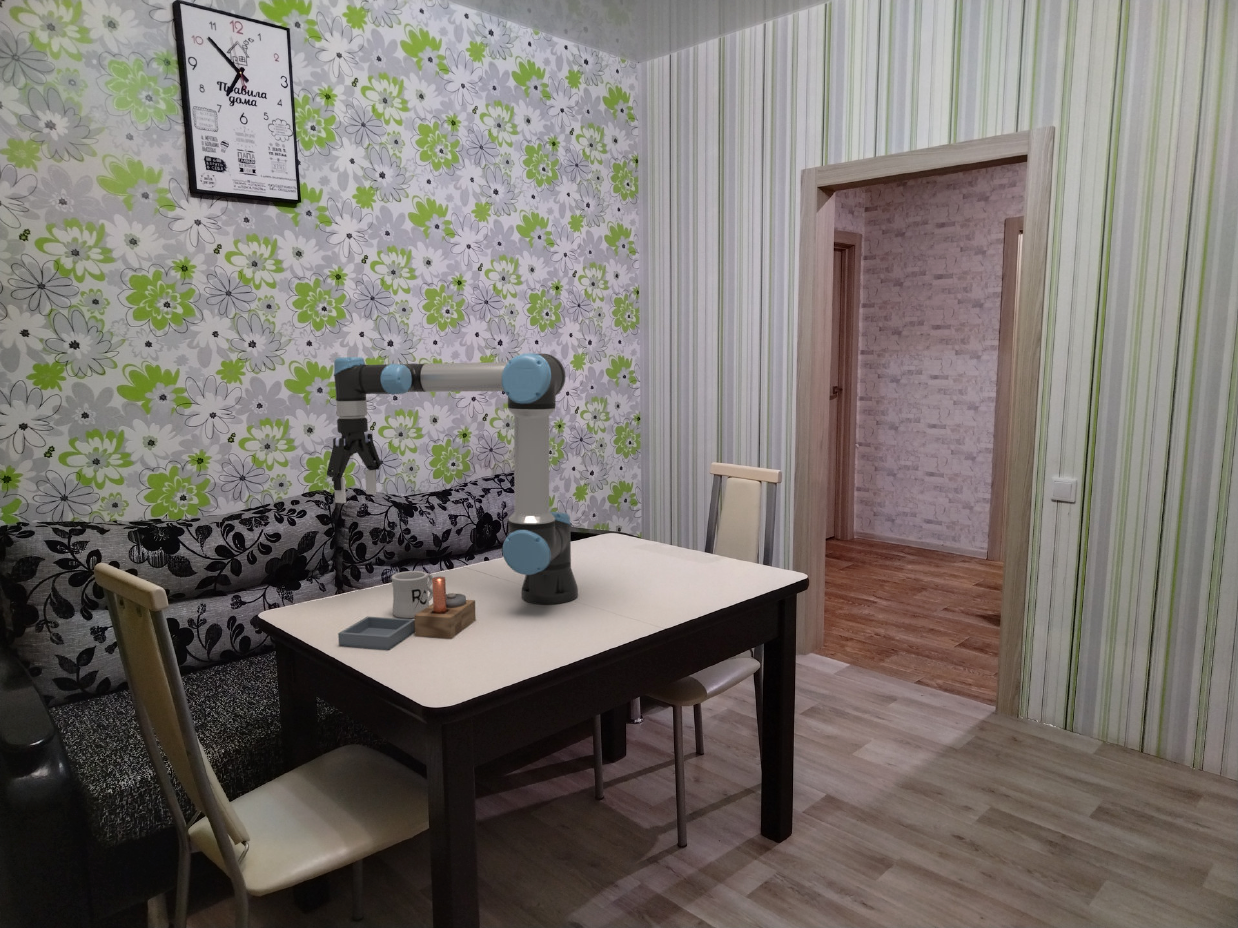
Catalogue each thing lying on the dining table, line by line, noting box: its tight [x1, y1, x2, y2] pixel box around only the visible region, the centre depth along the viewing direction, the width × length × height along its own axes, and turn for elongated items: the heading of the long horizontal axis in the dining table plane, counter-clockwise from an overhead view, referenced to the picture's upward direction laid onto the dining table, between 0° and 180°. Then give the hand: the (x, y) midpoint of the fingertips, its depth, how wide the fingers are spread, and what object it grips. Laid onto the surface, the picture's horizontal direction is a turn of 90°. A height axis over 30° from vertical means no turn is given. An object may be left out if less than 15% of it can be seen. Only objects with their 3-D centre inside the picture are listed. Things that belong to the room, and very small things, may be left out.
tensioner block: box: [414, 592, 477, 640], centre depth 197 cm, size 9×14×7 cm, turn 167°
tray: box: [337, 615, 415, 651], centre depth 190 cm, size 12×12×3 cm
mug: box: [390, 570, 434, 619], centre depth 209 cm, size 12×9×10 cm
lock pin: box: [431, 575, 447, 614], centre depth 193 cm, size 3×3×13 cm
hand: (356, 498), depth 217 cm, fingers open, 13 cm apart
